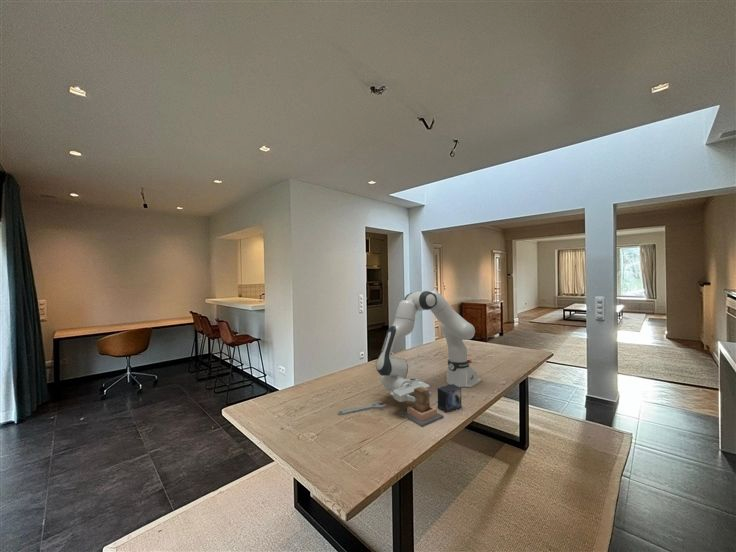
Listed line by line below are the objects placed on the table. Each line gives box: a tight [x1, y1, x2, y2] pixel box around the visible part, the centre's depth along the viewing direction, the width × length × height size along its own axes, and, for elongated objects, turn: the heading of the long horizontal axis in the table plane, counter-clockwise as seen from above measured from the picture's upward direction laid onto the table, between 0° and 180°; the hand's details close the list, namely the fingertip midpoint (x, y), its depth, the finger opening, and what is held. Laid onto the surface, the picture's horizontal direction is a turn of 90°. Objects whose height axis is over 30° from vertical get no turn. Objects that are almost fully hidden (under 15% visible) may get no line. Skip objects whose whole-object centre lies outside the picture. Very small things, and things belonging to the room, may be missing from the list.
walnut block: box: [413, 386, 431, 413], centre depth 138 cm, size 5×5×12 cm
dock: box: [400, 404, 445, 428], centre depth 138 cm, size 14×14×4 cm
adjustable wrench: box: [337, 401, 387, 416], centre depth 148 cm, size 25×6×2 cm, turn 106°
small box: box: [437, 384, 463, 413], centre depth 146 cm, size 11×6×10 cm, turn 115°
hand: (423, 397), depth 137 cm, fingers open, 8 cm apart
